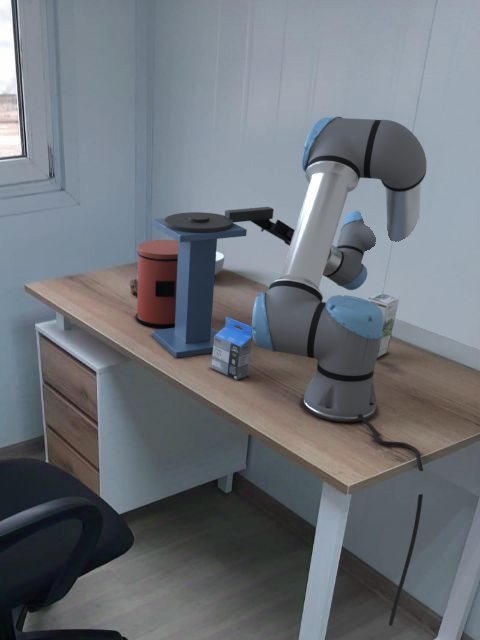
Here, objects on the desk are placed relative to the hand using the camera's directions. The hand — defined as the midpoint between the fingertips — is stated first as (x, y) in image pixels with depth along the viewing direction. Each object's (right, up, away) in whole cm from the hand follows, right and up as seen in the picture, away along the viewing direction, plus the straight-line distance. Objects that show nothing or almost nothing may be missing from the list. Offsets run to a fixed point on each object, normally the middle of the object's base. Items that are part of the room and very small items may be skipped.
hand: (261, 218), depth 182 cm
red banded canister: (-23, -19, +26) cm, 39 cm away
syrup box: (+29, -33, +5) cm, 44 cm away
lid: (-11, -2, -3) cm, 11 cm away
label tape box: (-9, -39, -5) cm, 40 cm away
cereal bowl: (-10, +2, +59) cm, 60 cm away
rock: (-26, -9, +42) cm, 50 cm away
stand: (-16, -28, +11) cm, 35 cm away
